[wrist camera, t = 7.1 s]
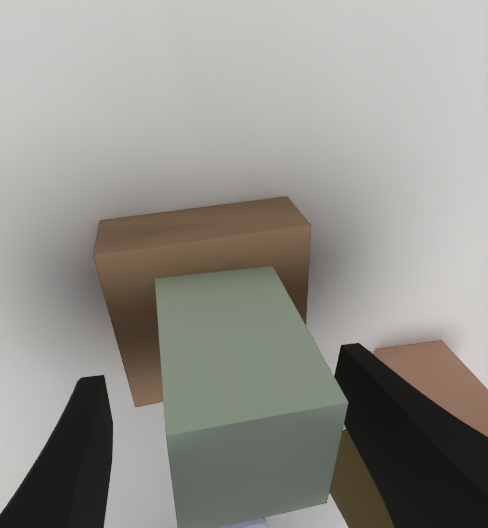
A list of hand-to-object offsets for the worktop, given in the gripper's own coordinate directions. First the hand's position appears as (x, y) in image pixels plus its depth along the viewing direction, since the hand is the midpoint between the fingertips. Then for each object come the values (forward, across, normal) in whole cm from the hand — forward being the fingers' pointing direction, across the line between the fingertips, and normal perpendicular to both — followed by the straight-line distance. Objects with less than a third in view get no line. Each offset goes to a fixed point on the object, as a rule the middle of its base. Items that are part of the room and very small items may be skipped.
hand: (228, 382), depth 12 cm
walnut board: (+6, 0, 0) cm, 6 cm away
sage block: (+3, 0, 0) cm, 3 cm away
